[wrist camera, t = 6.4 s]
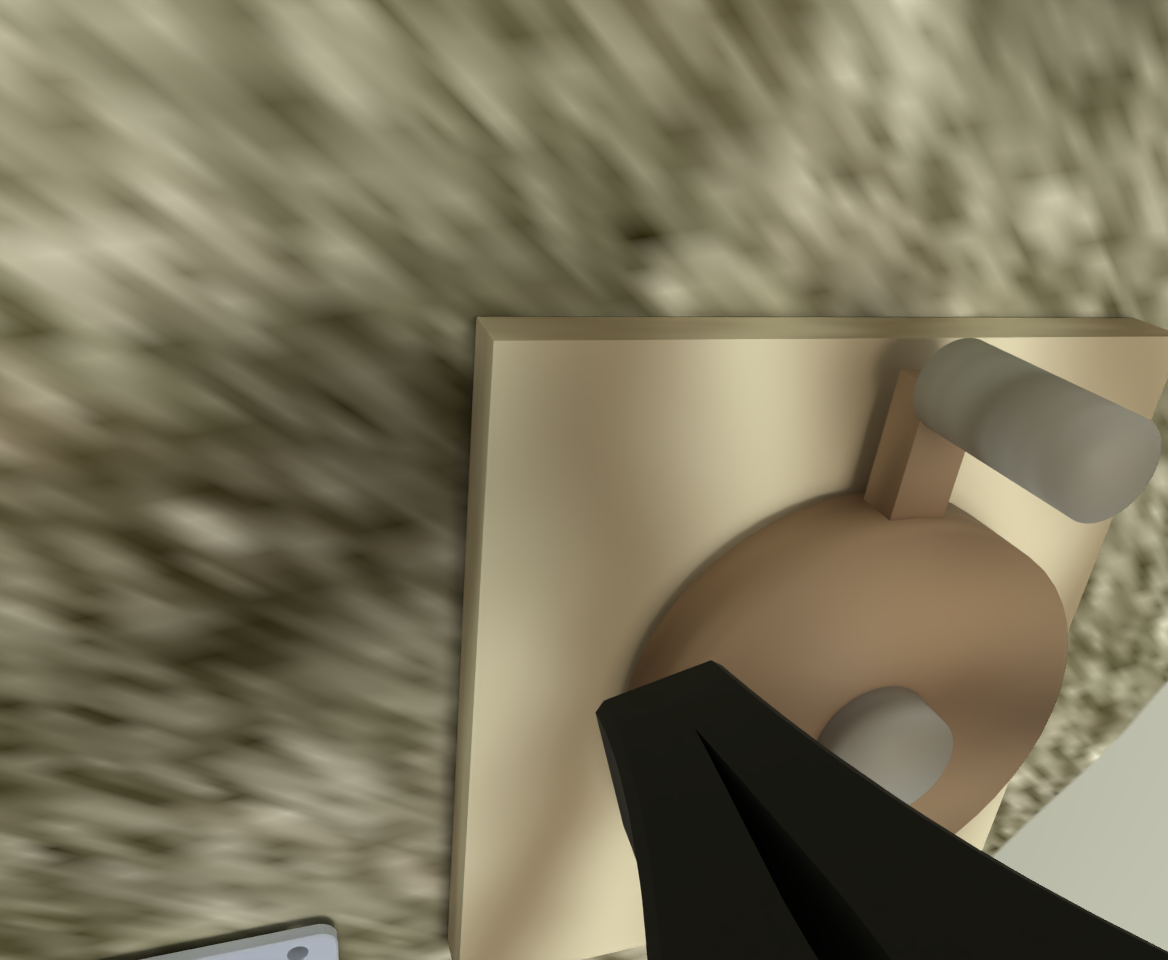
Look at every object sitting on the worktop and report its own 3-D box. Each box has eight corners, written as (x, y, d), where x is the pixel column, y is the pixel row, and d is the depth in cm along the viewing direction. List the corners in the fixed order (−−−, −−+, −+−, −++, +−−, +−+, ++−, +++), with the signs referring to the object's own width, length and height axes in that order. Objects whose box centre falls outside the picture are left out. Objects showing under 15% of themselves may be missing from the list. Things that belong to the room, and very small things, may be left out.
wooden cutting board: (447, 940, 26) (459, 992, 25) (476, 316, 18) (495, 343, 17) (945, 833, 31) (977, 871, 30) (1133, 318, 24) (1188, 337, 22)
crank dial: (939, 813, 28) (1071, 968, 23) (592, 876, 24) (671, 1074, 20) (1129, 327, 21) (1359, 414, 17) (695, 311, 18) (845, 416, 13)
